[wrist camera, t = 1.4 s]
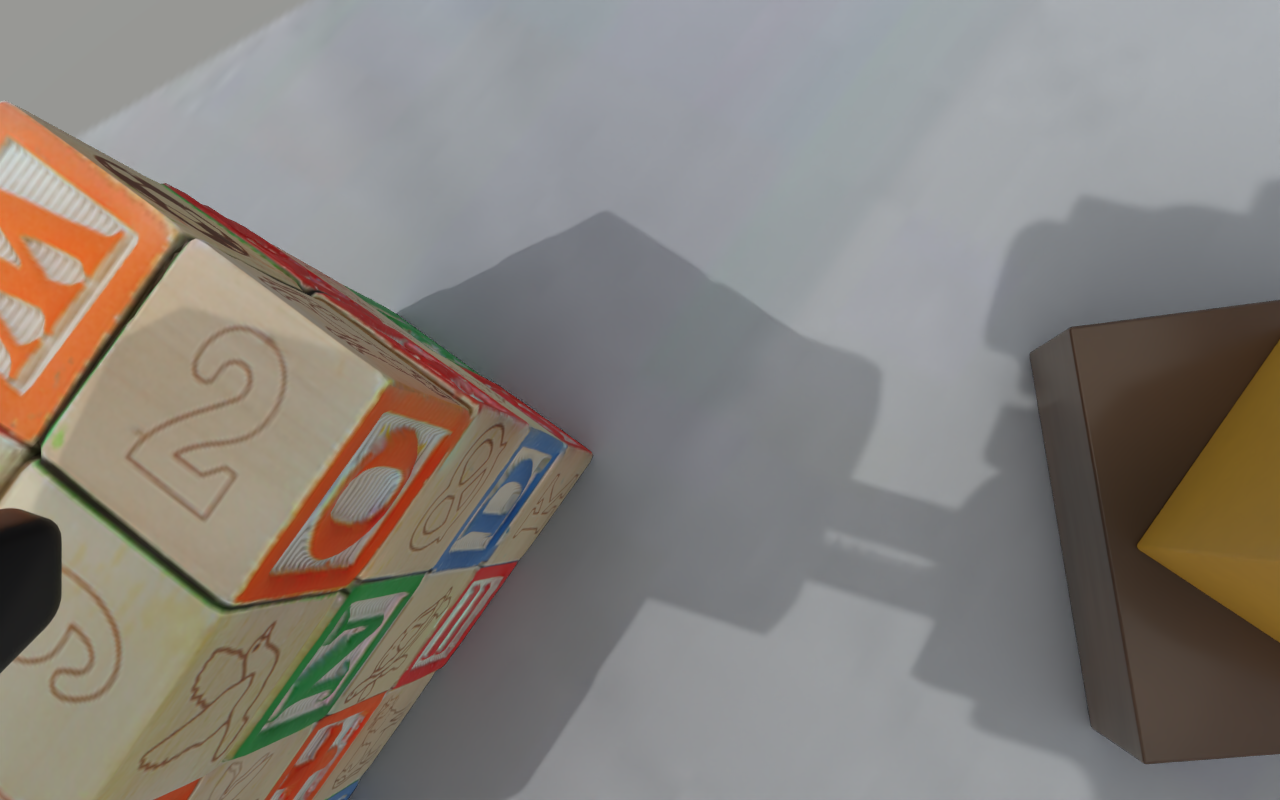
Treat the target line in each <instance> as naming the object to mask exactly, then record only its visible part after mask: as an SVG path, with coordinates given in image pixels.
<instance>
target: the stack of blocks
mask: <svg viewBox="0 0 1280 800" xmlns="http://www.w3.org/2000/svg"><path fill="white" fill-rule="evenodd" d="M592 456H593V454H592V452H591V451H590V450H588V449H587V448H586V447H584V446H583V445H581V444H580V443H579V442H577V441H576V440H575V439H573V438H572V437H570V436H569V435H568V434H566V433H565V432H563V431H562V430H561V429H559V428H558V427H556V426H555V425H554V424H552V423H551V422H549V421H548V420H546V419H545V418H544V417H542V416H541V415H539V414H538V413H537V412H535V411H534V410H532V409H531V408H530V407H528V406H527V405H526V404H524V403H523V402H521V401H520V400H519V399H517V398H516V397H514V396H513V395H511V394H510V393H508V392H507V391H506V390H504V389H503V388H501V387H500V386H499V385H497V384H495V383H493V382H491V381H489V380H487V379H485V378H484V377H482V376H481V375H479V374H478V373H477V372H475V371H474V370H473V369H471V368H470V367H468V366H467V365H466V364H464V363H463V362H462V361H460V360H459V359H457V358H456V357H455V356H453V355H452V354H451V353H449V352H448V351H446V350H445V349H444V348H442V347H441V346H440V345H438V344H437V343H435V342H434V341H433V340H431V339H430V338H428V337H427V336H426V335H424V334H423V333H421V332H420V331H419V330H417V329H416V328H415V327H413V326H412V325H410V324H409V323H408V322H406V321H405V320H404V319H402V318H401V317H400V316H398V315H397V314H395V313H394V312H392V311H391V310H389V309H387V308H386V307H384V306H382V305H380V304H378V303H376V302H374V301H373V300H371V299H369V298H367V297H365V296H363V295H361V294H359V293H357V292H355V291H353V290H352V289H350V288H348V287H346V286H344V285H342V284H340V283H339V282H337V281H335V280H333V279H332V278H330V277H328V276H327V275H325V274H323V273H322V272H320V271H318V270H316V269H315V268H313V267H311V266H309V265H308V264H306V263H304V262H302V261H301V260H299V259H297V258H295V257H293V256H292V255H290V254H288V253H286V252H285V251H283V250H281V249H279V248H278V247H276V246H274V245H272V244H270V243H269V242H267V241H266V240H264V239H263V238H261V237H260V236H258V235H256V234H255V233H253V232H251V231H250V230H249V229H247V228H246V227H244V226H242V225H240V224H238V223H236V222H235V221H232V220H230V219H227V218H226V217H224V216H222V215H221V214H219V213H218V212H216V211H215V210H213V209H212V208H210V207H209V206H206V205H202V204H200V203H199V202H197V201H196V200H195V199H193V198H192V197H190V196H189V195H187V194H185V193H184V192H182V191H180V190H178V189H176V188H174V187H172V186H170V185H168V184H166V183H165V184H160V183H157V182H155V181H153V180H151V179H149V178H147V177H145V176H143V175H141V174H140V173H138V172H136V171H134V170H133V169H131V168H129V167H127V166H125V165H124V164H122V163H120V162H118V161H116V160H115V159H113V158H111V157H109V156H107V155H106V154H104V153H102V152H100V151H98V150H96V149H95V148H93V147H91V146H89V145H87V144H86V143H84V142H82V141H80V140H78V139H76V138H75V137H73V136H71V135H69V134H67V133H65V132H64V131H62V130H60V129H58V128H56V127H55V126H53V125H51V124H49V123H47V122H46V121H44V120H42V119H40V118H38V117H37V116H35V115H33V114H31V113H29V112H27V111H26V110H24V109H22V108H20V107H18V106H16V105H13V104H12V103H10V102H7V101H0V509H5V508H17V509H21V510H25V511H28V512H31V513H34V514H37V515H39V516H42V517H45V518H48V519H50V520H52V521H53V522H55V523H56V524H57V525H58V527H59V530H60V532H61V537H62V597H61V602H60V606H59V609H58V611H57V613H56V615H55V616H54V618H53V619H52V621H51V622H50V624H49V625H48V626H47V627H46V628H45V629H44V630H43V631H42V632H41V633H40V634H39V635H38V636H37V637H36V638H35V639H34V640H33V641H32V642H31V643H30V644H29V645H28V646H27V647H26V648H25V649H24V650H23V651H22V652H21V653H20V654H19V655H18V656H17V657H16V658H15V659H14V660H13V661H12V662H11V663H10V664H9V665H8V666H7V667H6V668H5V669H4V670H3V671H2V672H1V673H0V800H348V798H349V797H350V795H351V794H352V792H353V791H354V790H355V788H356V787H357V785H358V783H359V780H360V778H361V776H362V775H363V774H364V773H365V771H366V770H367V769H368V768H369V767H370V765H371V764H372V762H373V761H374V759H375V758H376V757H377V755H378V754H379V752H380V751H381V750H382V748H383V747H384V745H385V744H386V742H387V741H388V740H389V738H390V737H391V735H392V734H393V733H394V731H395V730H396V728H397V727H398V725H399V724H400V723H401V721H402V720H403V718H404V717H405V716H406V714H407V713H408V711H409V710H410V708H411V707H412V705H413V704H414V703H415V701H416V700H417V698H418V697H419V695H420V694H421V692H422V691H423V690H424V688H425V687H426V685H427V684H428V682H429V681H430V680H431V678H432V676H433V675H434V673H435V671H437V670H438V669H440V668H442V667H443V666H444V665H445V664H446V663H447V661H448V660H449V658H450V657H451V656H452V654H453V653H454V651H455V650H456V649H457V647H458V646H459V645H460V643H461V642H462V641H463V639H464V638H465V636H466V635H467V634H468V632H469V631H470V629H471V628H472V626H473V625H474V624H475V622H476V621H477V619H478V618H479V617H480V615H481V614H482V612H483V611H484V609H485V608H486V607H487V605H488V604H489V602H490V601H491V600H492V598H493V597H494V595H495V594H496V593H497V591H498V590H499V589H500V587H501V586H502V584H503V583H504V582H505V580H506V579H507V577H508V576H509V574H510V573H511V572H512V570H513V569H514V567H515V566H516V564H517V562H518V561H519V559H520V558H521V557H522V556H523V555H524V554H525V553H526V551H527V550H528V549H529V547H530V546H531V545H532V543H533V542H534V540H535V539H536V538H537V536H538V535H539V533H540V532H541V531H542V529H543V528H544V526H545V525H546V524H547V522H548V521H549V519H550V518H551V517H552V515H553V514H554V512H555V511H556V510H557V508H558V507H559V505H560V504H561V503H562V501H563V500H564V498H565V497H566V495H567V494H568V493H569V491H570V490H571V488H572V487H573V486H574V484H575V483H576V481H577V480H578V479H579V477H580V476H581V474H582V473H583V471H584V470H585V469H586V467H587V466H588V464H589V463H590V462H591V459H592Z"/></svg>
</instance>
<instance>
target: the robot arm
mask: <svg viewBox="0 0 1280 800" xmlns="http://www.w3.org/2000/svg"><path fill="white" fill-rule="evenodd" d="M61 597H62V537H61V532H60V530H59V527H58V525H57V524H56V523H55V522H53V521H52V520H50V519H48V518H45V517H42V516H39V515H37V514H34V513H31V512H28V511H25V510H21V509H17V508H5V509H0V673H1V672H2V671H3V670H4V669H5V668H6V667H7V666H8V665H9V664H10V663H11V662H12V661H13V660H14V659H15V658H16V657H17V656H18V655H19V654H20V653H21V652H22V651H23V650H24V649H25V648H26V647H27V646H28V645H29V644H30V643H31V642H32V641H33V640H34V639H35V638H36V637H37V636H38V635H39V634H40V633H41V632H42V631H43V630H44V629H45V628H46V627H47V626H48V625H49V624H50V622H51V621H52V619H53V618H54V616H55V615H56V613H57V611H58V609H59V606H60V602H61Z"/></svg>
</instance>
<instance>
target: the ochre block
mask: <svg viewBox="0 0 1280 800" xmlns="http://www.w3.org/2000/svg"><path fill="white" fill-rule="evenodd" d="M1137 548H1138V549H1139V550H1140V551H1142V552H1143V553H1145V554H1146V555H1148V556H1149V557H1151V558H1152V559H1154V560H1155V561H1157V562H1158V563H1160V564H1161V565H1163V566H1164V567H1166V568H1167V569H1169V570H1171V571H1172V572H1174V573H1175V574H1177V575H1178V576H1180V577H1181V578H1183V579H1184V580H1186V581H1187V582H1189V583H1190V584H1192V585H1193V586H1195V587H1196V588H1198V589H1199V590H1201V591H1202V592H1204V593H1205V594H1207V595H1208V596H1210V597H1211V598H1213V599H1214V600H1216V601H1217V602H1219V603H1220V604H1222V605H1223V606H1225V607H1226V608H1228V609H1230V610H1231V611H1233V612H1234V613H1236V614H1237V615H1239V616H1240V617H1242V618H1243V619H1245V620H1246V621H1248V622H1249V623H1251V624H1252V625H1254V626H1255V627H1257V628H1258V629H1260V630H1261V631H1263V632H1264V633H1266V634H1267V635H1269V636H1270V637H1272V638H1273V639H1275V640H1276V641H1278V642H1279V643H1280V340H1279V342H1278V343H1277V344H1276V346H1275V347H1274V349H1273V350H1272V352H1271V353H1270V354H1269V356H1268V357H1267V359H1266V360H1265V362H1264V363H1263V365H1262V366H1261V367H1260V369H1259V370H1258V372H1257V373H1256V375H1255V376H1254V377H1253V379H1252V380H1251V382H1250V383H1249V385H1248V386H1247V388H1246V389H1245V390H1244V392H1243V393H1242V395H1241V396H1240V398H1239V399H1238V400H1237V402H1236V403H1235V405H1234V406H1233V408H1232V409H1231V411H1230V412H1229V413H1228V415H1227V416H1226V418H1225V419H1224V421H1223V422H1222V423H1221V425H1220V426H1219V428H1218V429H1217V431H1216V432H1215V434H1214V435H1213V436H1212V438H1211V439H1210V441H1209V442H1208V444H1207V445H1206V446H1205V448H1204V449H1203V451H1202V452H1201V454H1200V455H1199V457H1198V458H1197V459H1196V461H1195V462H1194V464H1193V465H1192V467H1191V468H1190V469H1189V471H1188V472H1187V474H1186V475H1185V477H1184V478H1183V480H1182V481H1181V482H1180V484H1179V485H1178V487H1177V488H1176V490H1175V491H1174V492H1173V494H1172V495H1171V497H1170V498H1169V500H1168V501H1167V503H1166V504H1165V505H1164V507H1163V508H1162V510H1161V511H1160V513H1159V514H1158V515H1157V517H1156V518H1155V520H1154V521H1153V523H1152V524H1151V526H1150V527H1149V528H1148V530H1147V531H1146V533H1145V534H1144V536H1143V537H1142V538H1141V540H1140V541H1139V543H1138V544H1137Z"/></svg>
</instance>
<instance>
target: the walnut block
mask: <svg viewBox="0 0 1280 800" xmlns="http://www.w3.org/2000/svg"><path fill="white" fill-rule="evenodd" d="M1279 340H1280V300H1274V301H1267V302H1259V303H1252V304H1244V305H1236V306H1229V307H1221V308H1213V309H1206V310H1198V311H1190V312H1183V313H1175V314H1167V315H1160V316H1152V317H1144V318H1137V319H1129V320H1121V321H1114V322H1106V323H1098V324H1091V325H1083V326H1076V327H1070V328H1069V329H1067V330H1066V331H1064V332H1062V333H1061V334H1059V335H1058V336H1056V337H1054V338H1053V339H1051V340H1050V341H1048V342H1046V343H1045V344H1043V345H1042V346H1040V347H1039V348H1037V349H1035V350H1034V351H1032V352H1031V353H1030V360H1031V366H1032V372H1033V378H1034V384H1035V390H1036V396H1037V402H1038V408H1039V414H1040V420H1041V426H1042V432H1043V438H1044V445H1045V451H1046V457H1047V463H1048V469H1049V475H1050V481H1051V487H1052V493H1053V499H1054V505H1055V511H1056V517H1057V523H1058V529H1059V535H1060V541H1061V547H1062V553H1063V559H1064V565H1065V571H1066V577H1067V583H1068V590H1069V596H1070V602H1071V608H1072V614H1073V620H1074V626H1075V632H1076V638H1077V644H1078V650H1079V656H1080V662H1081V668H1082V674H1083V680H1084V686H1085V692H1086V698H1087V704H1088V710H1089V716H1090V722H1091V727H1092V728H1093V729H1094V730H1096V731H1097V732H1099V733H1100V734H1101V735H1103V736H1104V737H1106V738H1107V739H1109V740H1110V741H1112V742H1113V743H1115V744H1116V745H1118V746H1119V747H1121V748H1122V749H1123V750H1125V751H1126V752H1128V753H1129V754H1131V755H1132V756H1134V757H1135V758H1137V759H1138V760H1140V761H1141V762H1142V763H1144V764H1156V763H1169V762H1182V761H1195V760H1208V759H1221V758H1234V757H1247V756H1260V755H1273V754H1280V643H1279V642H1278V641H1276V640H1275V639H1273V638H1272V637H1270V636H1269V635H1267V634H1266V633H1264V632H1263V631H1261V630H1260V629H1258V628H1257V627H1255V626H1254V625H1252V624H1251V623H1249V622H1248V621H1246V620H1245V619H1243V618H1242V617H1240V616H1239V615H1237V614H1236V613H1234V612H1233V611H1231V610H1230V609H1228V608H1226V607H1225V606H1223V605H1222V604H1220V603H1219V602H1217V601H1216V600H1214V599H1213V598H1211V597H1210V596H1208V595H1207V594H1205V593H1204V592H1202V591H1201V590H1199V589H1198V588H1196V587H1195V586H1193V585H1192V584H1190V583H1189V582H1187V581H1186V580H1184V579H1183V578H1181V577H1180V576H1178V575H1177V574H1175V573H1174V572H1172V571H1171V570H1169V569H1167V568H1166V567H1164V566H1163V565H1161V564H1160V563H1158V562H1157V561H1155V560H1154V559H1152V558H1151V557H1149V556H1148V555H1146V554H1145V553H1143V552H1142V551H1140V550H1139V549H1138V548H1137V544H1138V543H1139V541H1140V540H1141V538H1142V537H1143V536H1144V534H1145V533H1146V531H1147V530H1148V528H1149V527H1150V526H1151V524H1152V523H1153V521H1154V520H1155V518H1156V517H1157V515H1158V514H1159V513H1160V511H1161V510H1162V508H1163V507H1164V505H1165V504H1166V503H1167V501H1168V500H1169V498H1170V497H1171V495H1172V494H1173V492H1174V491H1175V490H1176V488H1177V487H1178V485H1179V484H1180V482H1181V481H1182V480H1183V478H1184V477H1185V475H1186V474H1187V472H1188V471H1189V469H1190V468H1191V467H1192V465H1193V464H1194V462H1195V461H1196V459H1197V458H1198V457H1199V455H1200V454H1201V452H1202V451H1203V449H1204V448H1205V446H1206V445H1207V444H1208V442H1209V441H1210V439H1211V438H1212V436H1213V435H1214V434H1215V432H1216V431H1217V429H1218V428H1219V426H1220V425H1221V423H1222V422H1223V421H1224V419H1225V418H1226V416H1227V415H1228V413H1229V412H1230V411H1231V409H1232V408H1233V406H1234V405H1235V403H1236V402H1237V400H1238V399H1239V398H1240V396H1241V395H1242V393H1243V392H1244V390H1245V389H1246V388H1247V386H1248V385H1249V383H1250V382H1251V380H1252V379H1253V377H1254V376H1255V375H1256V373H1257V372H1258V370H1259V369H1260V367H1261V366H1262V365H1263V363H1264V362H1265V360H1266V359H1267V357H1268V356H1269V354H1270V353H1271V352H1272V350H1273V349H1274V347H1275V346H1276V344H1277V343H1278V342H1279Z"/></svg>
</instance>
